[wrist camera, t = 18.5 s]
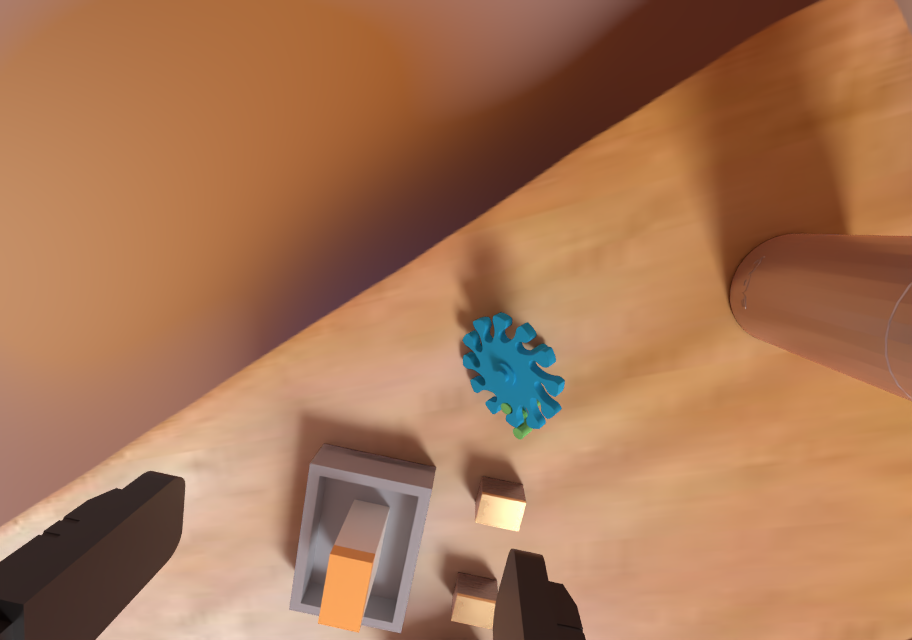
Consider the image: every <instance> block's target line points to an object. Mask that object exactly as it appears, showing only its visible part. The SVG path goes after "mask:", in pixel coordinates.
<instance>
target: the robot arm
mask: <svg viewBox="0 0 912 640" xmlns="http://www.w3.org/2000/svg"><path fill="white" fill-rule="evenodd" d="M730 304H731V308H732V312H733V314H734V316H735V319H736V321H737V322H738V323H739V325H740V326H741V327H742V328H743V329H744V330H745V331H746V332H748V333H749V334H750V335H752V336H753V337H756V338H758V339H760V340H763V341H765V342H767V343H770V344H772V345H775V346H777V347H780V348H782V349H785V350H787V351H789V352H791V353H794V354H796V355H799V356H801V357H804V358H806V359H809V360H811V361H814V362H816V363H819V364H821V365H824V366H826V367H829V368H831V369H833V370H836V371H838V372H841V373H843V374H846V375H848V376H851V377H853V378H856V379H858V380H861V381H863V382H866V383H868V384H871V385H873V386H876V387H878V388H881V389H883V390H885V391H888V392H890V393H893V394H895V395H898V396H900V397H903V398H905V399H908V400H910V401H912V236H876V235H839V234H786V235H781V236H777V237H775V238H772V239H770V240H767V241H765V242H764V243H762V244H761V245H759V246H758V247H756V248H755V249H754V250H752V251H751V252H750V253H749V254H748V255H747V256H746V257H745V258H744V260H743V261H742V263H741V264H740V265H739V267H738V269H737V271H736V273H735V275H734V277H733V280H732V284H731V288H730ZM184 497H185V481H184V479H183V478H182V477H177V476H173V475H168V474H163V473H159V472H154V471H148V472H146V473H144V474H142V475H141V476H140V477H138V478H137V479H135V480H134V481H133V482H131V483H130V484H129V485H127V486H126V487H125V488H123V489H118V488H115V489H113V490H111V491H108V492H106V493H104V494H101V495H99V496H97V497H94V498H92V499H90V500H87V501H86V502H84V503H83V504H82V505H80V506H79V507H77V508H76V509H75V510H73V511H72V512H70V513H69V514H67V515H66V516H65V517H64V519H63V520H62V521H60V520H59V521H58V522H56V523H55V524H53V525H52V526H50V527H49V528H48V529H46V530H45V531H44V533H43V534H42V535H38V536H36V537H35V538H33V539H32V540H31V541H29V542H28V543H26V544H25V545H23V546H22V547H21V548H19V549H18V550H16V551H15V552H14V553H12V554H11V555H9V556H8V557H6V558H5V559H4V560H2V561H1V562H0V640H95V639H96V638H97V637H98V636H99V635H100V634H101V633H102V632H103V631H104V630H105V629H106V628H107V626H108V625H109V624H110V623H111V622H112V621H113V620H114V619H115V618H116V617H117V616H118V615H119V613H120V612H121V611H122V610H123V609H124V608H125V607H126V606H127V605H128V604H129V603H130V602H131V600H132V599H133V598H134V597H135V596H136V595H137V594H138V593H139V592H140V591H141V590H142V589H143V587H144V586H145V585H146V584H147V583H148V582H149V581H150V580H151V579H152V578H153V577H154V576H155V574H156V573H157V572H158V571H159V570H160V569H161V568H162V567H163V566H164V565H165V564H166V563H167V561H168V560H169V559H170V558H171V556H172V555H173V553H174V552H175V550H176V548H177V546H178V543H179V541H180V538H181V534H182V526H183V511H184ZM493 640H586V639H585V635H584V633H583V628H582V624H581V620H580V616H579V612H578V608H577V605H576V604H575V602H574V601H573V599H572V598H571V596H570V594H569V593H568V591H567V590H566V588H565V587H564V585H563V584H559V583H555V582H550V581H548V576H547V571H546V566H545V561H544V558H543V556H542V555H540V554H535V553H531V552H526V551H521V550H517V549H511V550H510V552H509V555H508V558H507V562H506V566H505V569H504V573H503V577H502V580H501V584H500V588H499V591H498V595H497V599H496V603H495V609H494V618H493Z"/></svg>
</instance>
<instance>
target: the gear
mask: <svg viewBox="0 0 912 640" xmlns="http://www.w3.org/2000/svg"><path fill="white" fill-rule="evenodd" d="M493 324H494V329H495V334H494V338H492V336H491V335H490V329H491V326H492V323H491V320H490V318H489V317H481V318H479V319H477V320H475V321H473V325H474V328H475V329H476V331H477V332H478V333H477V332H476V331H475V330H474V331H472V332H470V333H468V334H466V335H465V336H464V338H463V342H464V344H465V345H466V346H468V347H469V348H470V349H471V350H472V351H473V352H474V353H473V352H469V353H467V354H465V355H464V357H463V365H464V367H466V368H467V369H473V370H475V371H477V372H478V373H479V374H480V375H481V376H476V377H475V378H473V379H472V380H470V381H471V385H472V388H473V390H474V392H476V393H479V392H480V391H482V390H488V391H491V392H493V393H494V394H495V395H496V397H495V396H494V397H492V398H491V399H489V400H488V401H486V406H487V407H488V409H489V410H490V411H491V413H492V414H496V413H497V412H498V411H500V410H501V409H502V411H503V412H504V413H505V414H508V415H506V421H507V422H508V423H509V424H510V425H512V426H514V427H515V428H514V429H513V433H514V435H515V437H516V438H518V439H522V438H524V437H525V436H526V435H527V434H528V433H530V432H531V431H532V428H533V429H540V428H541V427H542V426H543V425H544V424H545V423H546V421H545V418H544V416H545V417H546V418H547V419H549V418H552V417H553V416H554V415H555V414H556V413H558V412H559V411H560V410H561V409H562V408H561V406H560V404H559V403H558V402H557V401H555V400H554V399H552V398H551V397H550V396H549V395H548V394H547V393H546V391H545V390H544V388H543V386H542V384H543V385H544V386H545V388H546V390H547V392H548V393H549V394H550V395H552V396H554V397H556V396H557V395H558V394H560V393H561V392H562V391H563V389H564V384H565V380H564V379H563V378H562V377H560V376H554V375H550V374H548V373H546V372H544V371H543V370H542V369H541V368H539V367H538V366H537V364H536V362H537V363H538V364H539V365H541V366H542V367H545V368H547V367H549V366H551V365H552V364H553V363H555V362H556V358H555V354H554V352H553V349H552V348H551V347H548V346H547V345H546V344H540V345H539V346H537V347H536V348H534V349H532V350H531V351H530V350H527V349H525V348H524V347H523V345H522V342H523V343H527V342H529V341H530V340H532V339H534V338H535V337H536V335H537V333H536V331H535V330H534V329H533V327H532V326H531V325H530V324H529V323H525V324H523V325H521V326H519V327H518V328H517V329H516V334H515V337H514V338H513V339H509V338H508V337H507V336H506V334H505V329H506V328H507V327H509V326H511V325H512V318H511V317H510V316H509V315H507V314H505V313H502V312H500V313H498V314H496V315H494V317H493ZM479 336H480V337H479ZM480 338H481V341H482V345H481V343H480ZM541 383H542V384H541ZM540 404H541V411H542V414H543V415H544V416H543V415H542V414H541V412H540V410H539V408H538V406H539V405H540Z"/></svg>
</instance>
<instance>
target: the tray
mask: <svg viewBox="0 0 912 640" xmlns="http://www.w3.org/2000/svg"><path fill="white" fill-rule="evenodd" d="M435 470H436V467H432V466H427V465H423V464H418V463H413V462H408V461H404V460H399V459H394V458H389V457H385V456H380V455H375V454H371V453H366V452H361V451H356V450H352V449H347V448H342V447H337V446H333V445H328V444H323V446H322V447H321V448H320V450H319V451H318V453H317V454H316V455H315V457H314V458H313V460H312V461H311V463H310V466H309V473H308V480H307V488H306V495H305V502H304V509H303V516H302V523H301V530H300V537H299V544H298V551H297V558H296V566H295V573H294V580H293V587H292V594H291V601H290V608H289V610H293V611H298V612H303V613H307V614H312V615H317V616H319V614H320V609H321V603H322V597H323V591H324V585H325V579H326V574H327V568H328V562H329V556H330V553H331V550H332V548H333V546H334V544H335V541H336V539H337V537H338V535H339V532H340V530H341V528H342V526H343V524H344V521H345V519H346V517H347V515H348V512H349V510H350V508H351V506H352V504H353V501H354V499H355V500H360V501H364V502H369V503H373V504H378V505H383V506H387V507H390V509H389V514H388V519H387V524H386V529H385V534H384V539H383V544H382V549H381V554H380V559H379V564H378V568H377V572H376V575H375V579H374V582H373V585H372V589H371V592H370V596H369V599H368V603H367V606H366V609H365V613H364V616H363V620H362V623H361V625H364V626H368V627H373V628H378V629H383V630H387V631H392V632H397V633H401V631H402V626H403V622H404V617H405V612H406V608H407V603H408V599H409V594H410V589H411V585H412V580H413V575H414V571H415V566H416V562H417V557H418V552H419V548H420V543H421V538H422V534H423V529H424V525H425V520H426V515H427V511H428V506H429V501H430V497H431V492H432V487H433V481H434V475H435Z"/></svg>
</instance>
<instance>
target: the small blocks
mask: <svg viewBox="0 0 912 640" xmlns="http://www.w3.org/2000/svg"><path fill="white" fill-rule="evenodd" d="M525 505H526V500H525V494H524V488H523V485H522V484H517V483H512V482H508V481H503V480H498V479H493V478H489V477H484V476H482V478H481V482H480V486H479V490H478V495H477V499H476V503H475V523H480V524H485V525H489V526H494V527H499V528H504V529H508V530H513V531H519V527H520V524H521V520H522V516H523V513H524V509H525ZM497 595H498V589H497V580H492V579H487V578H483V577H478V576H473V575H469V574H464V573H459V572H458V577H457V581H456V585H455V589H454V593H453V599H452V614H451V621H454V622H459V623H464V624H468V625H473V626H478V627H482V628H487V629H492V626H493V618H494V609H495V603H496V599H497Z"/></svg>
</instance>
